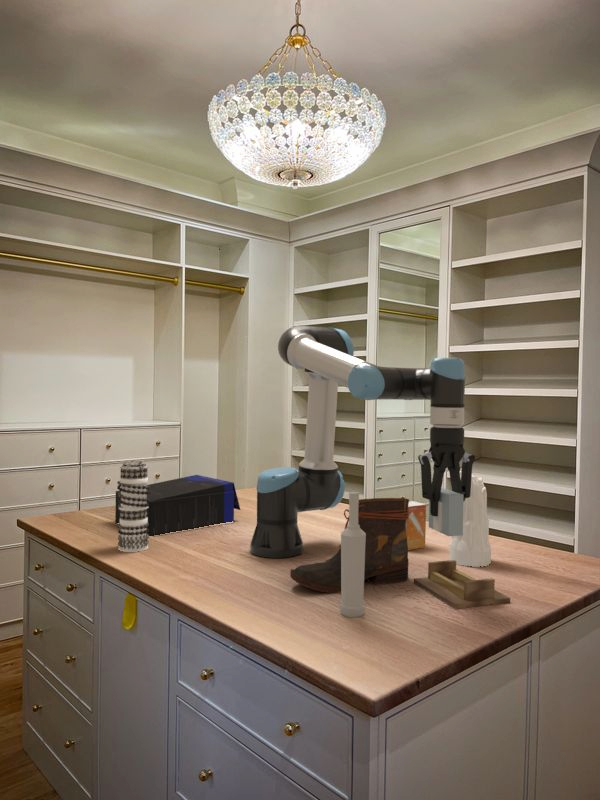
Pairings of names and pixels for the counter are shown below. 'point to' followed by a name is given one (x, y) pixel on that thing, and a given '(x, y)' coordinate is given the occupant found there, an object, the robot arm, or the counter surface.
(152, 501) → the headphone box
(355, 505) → the bottle
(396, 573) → the ankle boot
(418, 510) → the small box
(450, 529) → the light gray rectangular block
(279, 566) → the counter surface
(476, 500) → the decorative vase
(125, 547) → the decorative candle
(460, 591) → the track sill
